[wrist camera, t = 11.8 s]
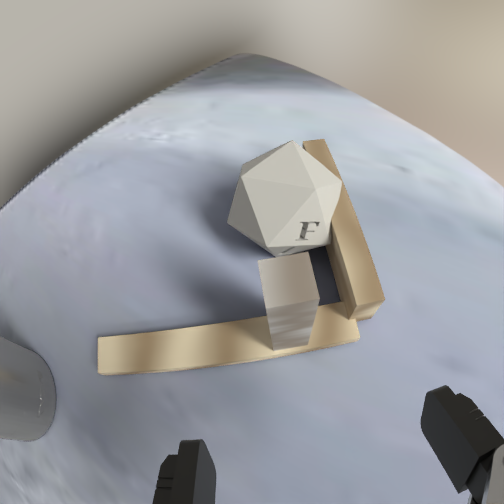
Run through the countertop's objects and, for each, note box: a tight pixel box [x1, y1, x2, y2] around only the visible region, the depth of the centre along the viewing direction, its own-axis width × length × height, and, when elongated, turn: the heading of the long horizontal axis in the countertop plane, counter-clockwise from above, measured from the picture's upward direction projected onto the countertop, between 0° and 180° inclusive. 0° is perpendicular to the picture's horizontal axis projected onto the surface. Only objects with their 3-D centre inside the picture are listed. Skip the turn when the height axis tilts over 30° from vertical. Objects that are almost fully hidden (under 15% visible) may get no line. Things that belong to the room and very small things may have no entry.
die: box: [227, 140, 342, 257], centre depth 25 cm, size 8×9×10 cm
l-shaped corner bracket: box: [98, 139, 385, 375], centre depth 22 cm, size 22×17×10 cm
